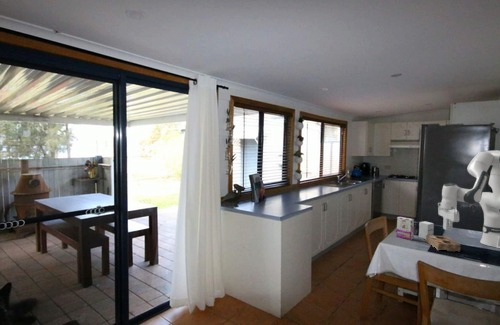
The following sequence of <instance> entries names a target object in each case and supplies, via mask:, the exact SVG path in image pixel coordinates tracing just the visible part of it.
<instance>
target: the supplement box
mask: <svg viewBox="0 0 500 325" xmlns="http://www.w3.org/2000/svg"><path fill="white" fill-rule="evenodd" d="M434 225H435V224H434V223H433V222H429V221H426V220H425V221H419V224H418V226H419V227H418V237H419V238H421V239H423V240H426V235H432V236H434V228H435V227H434Z"/></svg>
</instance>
